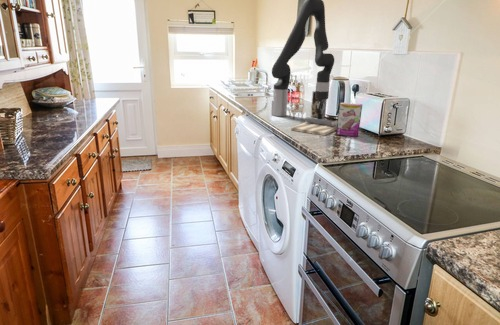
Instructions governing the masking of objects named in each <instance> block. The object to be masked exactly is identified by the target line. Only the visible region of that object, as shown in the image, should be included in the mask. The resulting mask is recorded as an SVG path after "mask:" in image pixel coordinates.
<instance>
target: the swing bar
mask: <svg viewBox="0 0 500 325" xmlns="http://www.w3.org/2000/svg"><path fill="white" fill-rule="evenodd" d="M305 122H311V123H318V124H325V125H332V126H337V123H338V120H329V119H324V118H322V119H318V118H316V117H305V118H304V123H305Z"/></svg>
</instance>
